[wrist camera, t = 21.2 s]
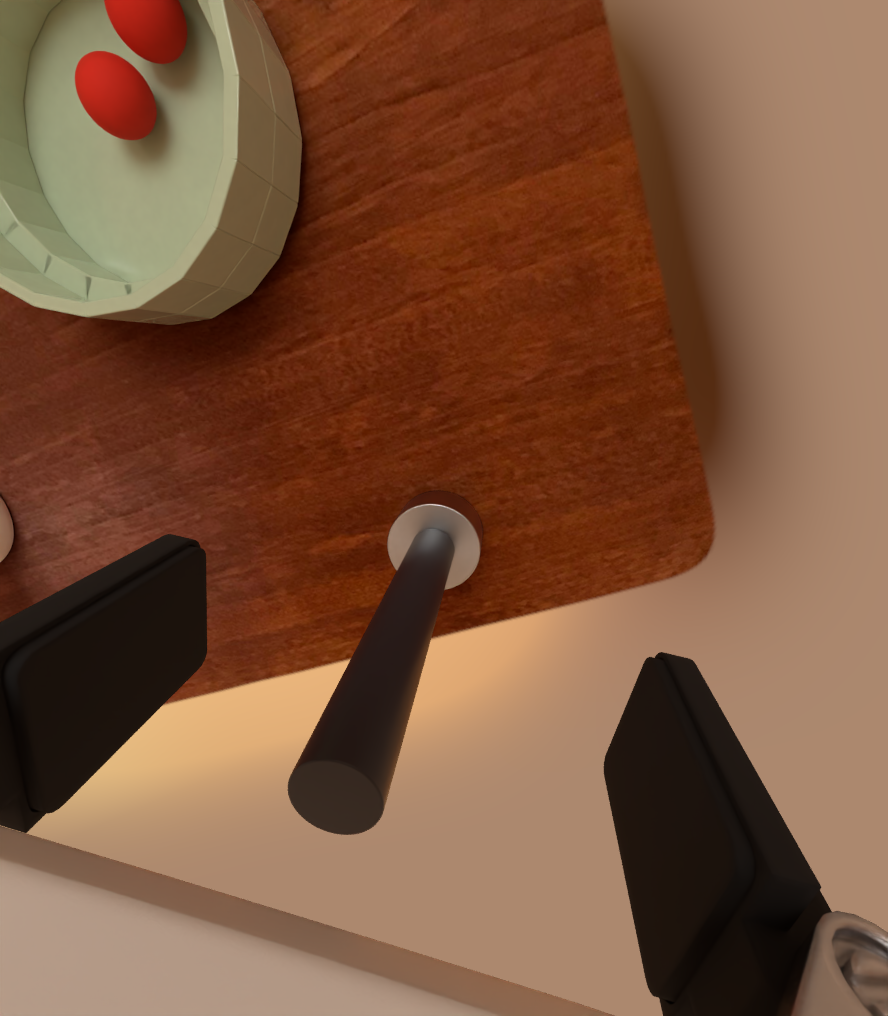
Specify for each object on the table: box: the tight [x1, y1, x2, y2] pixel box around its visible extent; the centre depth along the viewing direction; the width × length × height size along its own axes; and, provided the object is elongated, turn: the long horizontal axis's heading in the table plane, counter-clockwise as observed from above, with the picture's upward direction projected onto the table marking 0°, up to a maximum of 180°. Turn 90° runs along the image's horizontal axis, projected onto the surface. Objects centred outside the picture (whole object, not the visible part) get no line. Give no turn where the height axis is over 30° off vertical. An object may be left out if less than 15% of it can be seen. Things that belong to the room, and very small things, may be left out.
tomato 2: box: [75, 51, 157, 140], centre depth 21 cm, size 3×3×3 cm
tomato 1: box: [104, 0, 187, 64], centre depth 19 cm, size 3×3×3 cm
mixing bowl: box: [0, 0, 302, 325], centre depth 20 cm, size 16×16×6 cm
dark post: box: [288, 491, 483, 835], centre depth 19 cm, size 5×5×18 cm
